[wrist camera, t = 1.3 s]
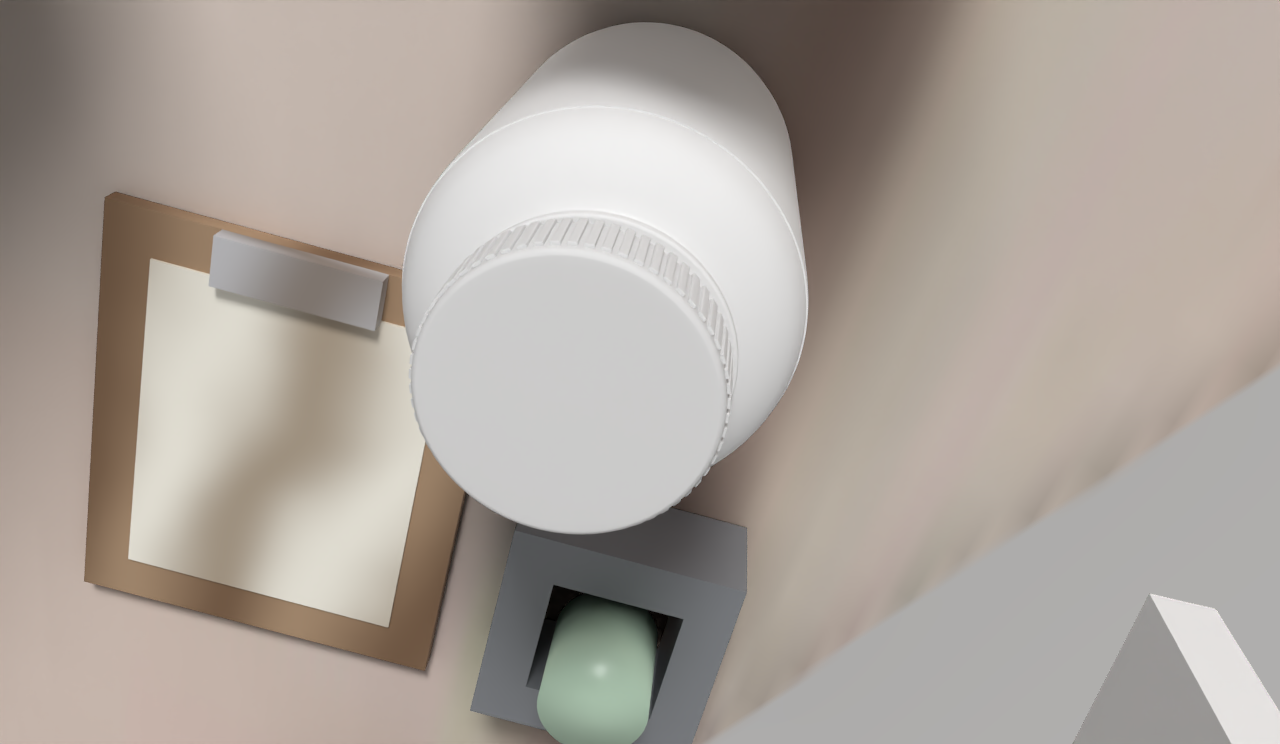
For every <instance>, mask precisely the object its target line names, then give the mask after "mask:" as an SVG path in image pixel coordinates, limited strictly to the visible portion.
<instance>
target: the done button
mask: <svg viewBox="0 0 1280 744" xmlns="http://www.w3.org/2000/svg"><path fill="white" fill-rule="evenodd" d="M657 640H658V632H657V627H656V624H655V621H654V619H653V617H652V616H651V614H650V613H649V611H648V610H647V609H643V608H639V607H636V606H632V605H628V604H624V603H621V602H617V601H613V600H609V599H606V598H602V597H598V596H594V595H590V594H587V593H585V594H582V595H580V596H578V597H576V598H574V599H573V600H571V601H570V602H569V603H568V604H567V605H566V606H565V607H564V608H563V609H562V611H561V612H560V614H559V616H558V619H557V623H556V627H555V630H554V634H553V638H552V642H551V646H550V650H549V654H548V658H547V662H546V666H545V670H544V674H543V678H542V682H541V686H540V690H539V694H538V698H537V711H538V715H539V719H540V721H541V723H542V725H543V726H544V728H545V729H546V730H547V731H548V733H549V734H550V735H551V736H552V737H553V738H555V739H556V740H557V741H559V742H560V743H562V744H632V743H633V742H634V741H636V740H637V739H638V738H639V737H640V735H641V734H642V733H643V731H644V730H645V727H646V725H647V722H648V716H649V708H650V699H651V691H652V682H653V674H654V666H655V657H656V649H657Z"/></svg>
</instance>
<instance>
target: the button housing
mask: <svg viewBox="0 0 1280 744" xmlns="http://www.w3.org/2000/svg"><path fill="white" fill-rule="evenodd" d="M553 585H557V586H560V587H564V588H568V589H572V590H575V591H579V592H583V593H587V594H590V595H594V596H598V597H602V598H606V599H609V600H613V601H617V602H621V603H624V604H628V605H632V606H636V607H639V608H643V609H647V610H651V611H654V612H658V613H662V614H666V615H669V617H668V620H667V623H666V626H665V629H664V632H663V635H662V638H661V641H660V644H659V647H658V648H657V649H656V657H655V666H654V674H653V682H652V691H651V699H650V708H649V716H648V722H647V725H646V727H645V730H644V731H643V733H642V734H641V735H640V737H639V738H638V739H637V740H636V741H634V742H633V743H632V744H692V742H693V739H694V736H695V733H696V731H697V728H698V725H699V722H700V720H701V717H702V714H703V711H704V709H705V706H706V703H707V700H708V698H709V695H710V692H711V689H712V687H713V684H714V681H715V678H716V676H717V673H718V670H719V667H720V665H721V662H722V659H723V656H724V654H725V651H726V648H727V645H728V643H729V640H730V637H731V634H732V632H733V629H734V626H735V623H736V621H737V618H738V615H739V612H740V610H741V607H742V604H743V601H744V599H745V596H746V593H747V528H745V527H741V526H738V525H734V524H730V523H727V522H723V521H719V520H715V519H712V518H708V517H704V516H701V515H697V514H693V513H689V512H686V511H682V510H678V509H674V508H671V507H670V508H669V510H667V511H666V512H664V513H662V514H659V515H657V516H656V517H655V518H653V519H651V520H647V521H645V522H643V523H641V524H638V525H635V526H631V527H628V528H625V529H621V530H617V531H612V532H606V533H598V534H563V533H555V532H549V531H544V530H539V529H535V528H532V527H528V526H525V525H522V524H520V523H517V525H516V528H515V531H514V535H513V539H512V543H511V547H510V551H509V555H508V560H507V564H506V568H505V572H504V576H503V580H502V584H501V588H500V592H499V596H498V600H497V604H496V608H495V612H494V616H493V620H492V624H491V628H490V632H489V636H488V640H487V644H486V648H485V652H484V656H483V660H482V664H481V668H480V673H479V677H478V681H477V685H476V689H475V693H474V697H473V701H472V705H471V709H470V711H474V712H477V713H481V714H485V715H489V716H493V717H496V718H500V719H504V720H508V721H512V722H515V723H519V724H523V725H527V726H531V727H535V728H538V729H542V730H546V729H545V728H544V726H543V725H542V723H541V721H540V719H539V715H538V711H537V698H538V694H539V690H540V686H541V682H542V678H543V674H544V670H545V666H546V662H547V658H548V654H549V650H550V646H551V642H552V638H553V634H554V630H555V627H556V623H557V622H556V621H552V620H549V619H545V614H546V610H547V607H548V603H549V599H550V596H551V592H552V588H553ZM546 731H547V730H546Z"/></svg>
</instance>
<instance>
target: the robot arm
mask: <svg viewBox="0 0 1280 744" xmlns="http://www.w3.org/2000/svg"><path fill="white" fill-rule="evenodd" d="M1073 744H1280V712H1279V710H1278V708H1277V707H1276V705H1275V704H1274V702H1273V700H1272V699H1271V697H1270V695H1269V694H1268V692H1267V691H1266V689H1265V688H1264V686H1263V684H1262V683H1261V681H1260V679H1259V678H1258V676H1257V675H1256V673H1255V672H1254V670H1253V668H1252V667H1251V665H1250V663H1249V662H1248V660H1247V659H1246V657H1245V655H1244V654H1243V652H1242V650H1241V649H1240V647H1239V646H1238V644H1237V642H1236V641H1235V639H1234V638H1233V636H1232V634H1231V633H1230V631H1229V630H1228V628H1227V626H1226V625H1225V623H1224V622H1223V620H1222V618H1221V617H1220V615H1219V614H1218V612H1217V610H1216V609H1214V608H1209V607H1205V606H1201V605H1197V604H1192V603H1187V602H1184V601H1179V600H1175V599H1171V598H1166V597H1162V596H1158V595H1154V594H1149V595H1148V597H1147V599H1146V601H1145V603H1144V605H1143V607H1142V609H1141V611H1140V613H1139V615H1138V617H1137V619H1136V621H1135V622H1134V625H1133V627H1132V629H1131V630H1130V632H1129V634H1128V636H1127V638H1126V640H1125V642H1124V644H1123V646H1122V648H1121V650H1120V652H1119V654H1118V656H1117V658H1116V660H1115V662H1114V664H1113V666H1112V667H1111V669H1110V671H1109V673H1108V675H1107V677H1106V679H1105V681H1104V683H1103V685H1102V687H1101V689H1100V691H1099V693H1098V695H1097V697H1096V699H1095V701H1094V703H1093V705H1092V707H1091V709H1090V711H1089V713H1088V714H1087V716H1086V718H1085V720H1084V722H1083V724H1082V726H1081V728H1080V730H1079V732H1078V734H1077V736H1076V738H1075V740H1074V742H1073Z"/></svg>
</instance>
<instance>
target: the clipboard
mask: <svg viewBox="0 0 1280 744" xmlns="http://www.w3.org/2000/svg"><path fill="white" fill-rule="evenodd" d="M402 272H403V270H400V269H397V268H393V267H389V266H386V265H382V264H378V263H375V262H371V261H367V260H364V259H360V258H356V257H353V256H349V255H345V254H342V253H338V252H334V251H331V250H327V249H323V248H320V247H316V246H312V245H309V244H305V243H301V242H298V241H294V240H290V239H287V238H283V237H279V236H276V235H272V234H268V233H265V232H261V231H257V230H254V229H250V228H246V227H243V226H239V225H235V224H232V223H228V222H224V221H221V220H217V219H213V218H210V217H206V216H202V215H199V214H195V213H191V212H188V211H184V210H180V209H177V208H173V207H169V206H166V205H162V204H158V203H155V202H151V201H147V200H144V199H140V198H136V197H132V196H129V195H125V194H121V193H118V192H114V193H112V194H110V195H108V196H106V197H105V201H104V220H103V239H102V258H101V276H100V295H99V314H98V332H97V351H96V370H95V389H94V407H93V426H92V445H91V463H90V482H89V501H88V520H87V538H86V557H85V576H84V581H85V582H89V583H93V584H96V585H100V586H104V587H108V588H112V589H115V590H119V591H123V592H127V593H131V594H134V595H138V596H142V597H146V598H150V599H153V600H157V601H161V602H165V603H169V604H172V605H176V606H180V607H184V608H188V609H191V610H195V611H199V612H203V613H207V614H210V615H214V616H218V617H222V618H226V619H229V620H233V621H237V622H241V623H245V624H248V625H252V626H256V627H260V628H263V629H267V630H271V631H275V632H279V633H282V634H286V635H290V636H294V637H298V638H301V639H305V640H309V641H313V642H317V643H320V644H324V645H328V646H332V647H336V648H339V649H343V650H347V651H351V652H355V653H358V654H362V655H366V656H370V657H374V658H377V659H381V660H385V661H389V662H393V663H396V664H400V665H404V666H408V667H412V668H415V669H419V670H423V671H425V669H426V666H427V664H428V661H429V658H430V653H431V649H432V644H433V640H434V635H435V631H436V626H437V622H438V617H439V613H440V608H441V604H442V599H443V595H444V590H445V586H446V581H447V577H448V572H449V568H450V563H451V559H452V554H453V550H454V545H455V541H456V536H457V532H458V527H459V523H460V518H461V514H462V509H463V505H464V500H465V496H466V492H465V491H464V490H463V489H462V488H460V487H459V486H458V485H457V484H456V483H455V482H454V481H453V480H452V479H451V478H450V476H449V475H448V474H447V473H446V472H445V471H444V469H443V468H442V467H441V465H440V464H439V463H438V461H437V460H436V459H435V457H434V456H433V454H432V452H431V450H430V449H429V448H428V446H427V444H426V442H425V439H424V437H423V436H422V434H421V432H420V430H419V424H418V422H417V421H416V419H415V416H414V413H415V411H414V408H413V407H412V404H411V398H412V393H410V391H409V384H410V382H411V379H409V369H410V367H411V366H412V365H411V364H409V362H410V355H411V354H412V351H411V348H410V345H409V341H408V337H407V333H406V328H405V322H404V315H403V304H402Z"/></svg>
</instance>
